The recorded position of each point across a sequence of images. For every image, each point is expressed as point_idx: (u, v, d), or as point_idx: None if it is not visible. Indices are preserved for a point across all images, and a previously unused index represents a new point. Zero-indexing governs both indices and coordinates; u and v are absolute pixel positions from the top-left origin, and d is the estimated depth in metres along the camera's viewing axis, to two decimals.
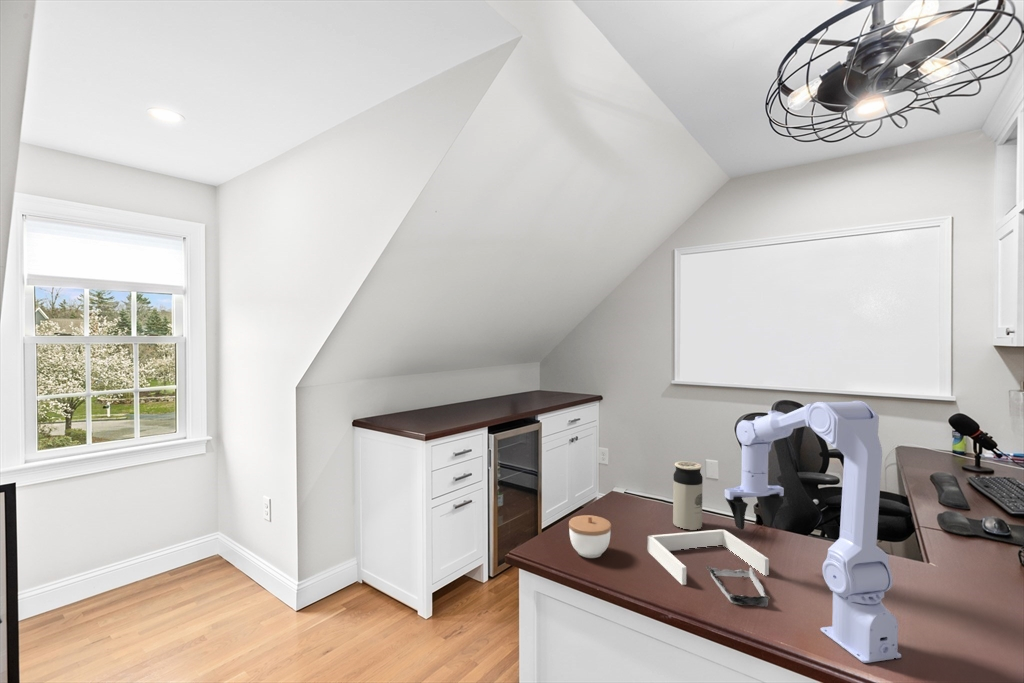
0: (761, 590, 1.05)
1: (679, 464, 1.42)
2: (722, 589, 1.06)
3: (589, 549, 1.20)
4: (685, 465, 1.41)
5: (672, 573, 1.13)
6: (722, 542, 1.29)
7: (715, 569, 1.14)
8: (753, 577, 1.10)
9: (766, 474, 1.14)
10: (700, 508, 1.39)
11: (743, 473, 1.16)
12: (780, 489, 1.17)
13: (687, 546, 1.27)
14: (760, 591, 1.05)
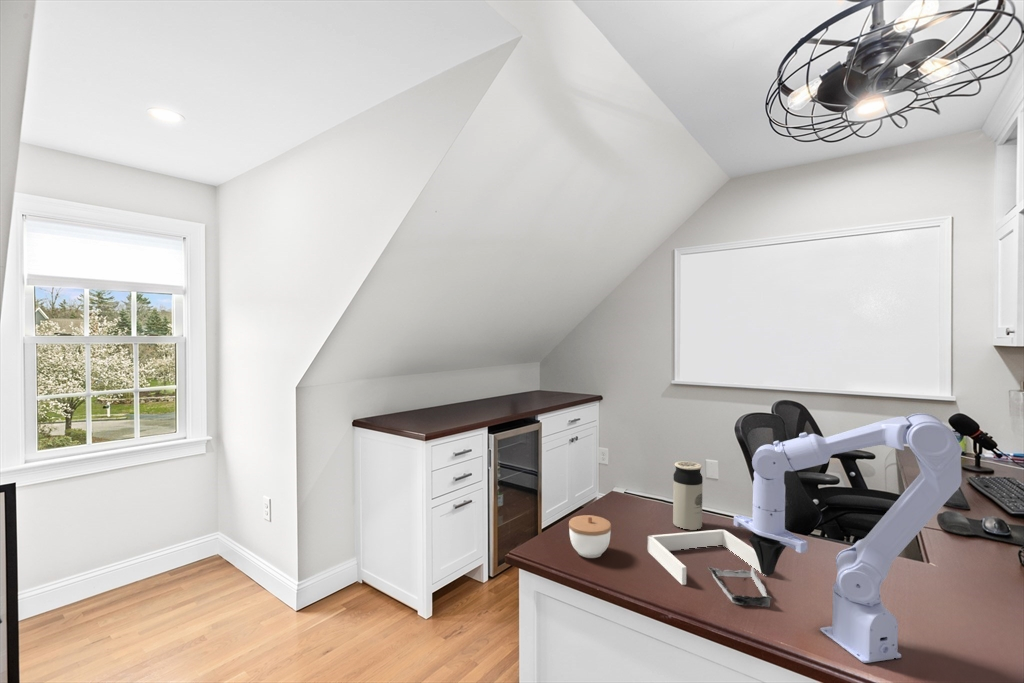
0: (763, 590, 1.05)
1: (679, 464, 1.42)
2: (724, 589, 1.06)
3: (589, 549, 1.20)
4: (685, 465, 1.41)
5: (672, 573, 1.13)
6: (722, 542, 1.29)
7: (717, 569, 1.14)
8: (755, 577, 1.10)
9: (765, 511, 0.95)
10: (700, 508, 1.39)
11: None
12: (795, 542, 0.91)
13: (687, 546, 1.27)
14: (762, 591, 1.05)
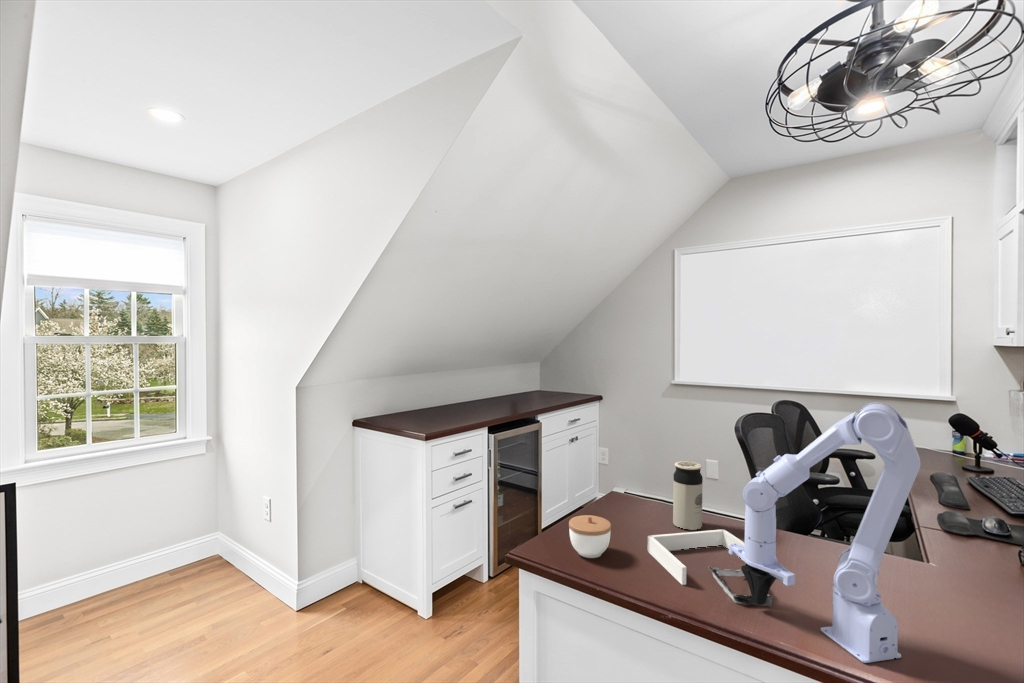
0: None
1: (679, 464, 1.42)
2: (725, 589, 1.06)
3: (589, 549, 1.20)
4: (685, 465, 1.41)
5: (672, 573, 1.13)
6: (722, 542, 1.29)
7: (717, 569, 1.14)
8: None
9: (755, 543, 0.97)
10: (700, 508, 1.39)
11: None
12: (782, 575, 0.93)
13: (687, 546, 1.27)
14: None
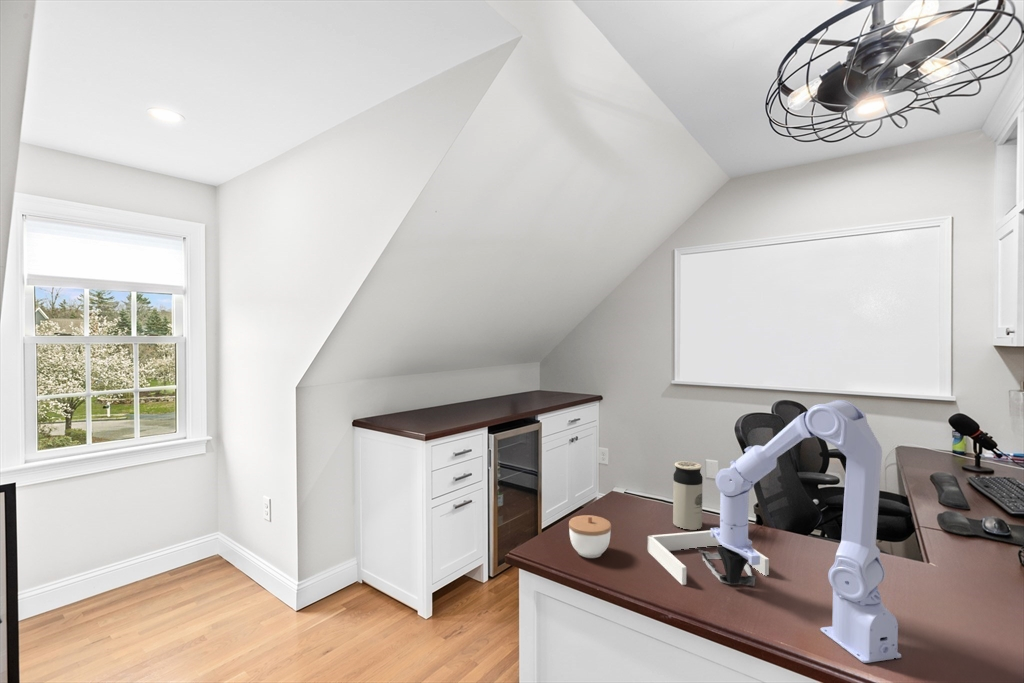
0: (749, 571, 1.13)
1: (679, 464, 1.42)
2: (713, 570, 1.14)
3: (589, 549, 1.20)
4: (685, 465, 1.41)
5: (672, 573, 1.13)
6: None
7: (706, 552, 1.22)
8: None
9: (727, 525, 1.06)
10: (700, 508, 1.39)
11: None
12: (748, 555, 1.01)
13: (687, 546, 1.27)
14: (748, 572, 1.13)
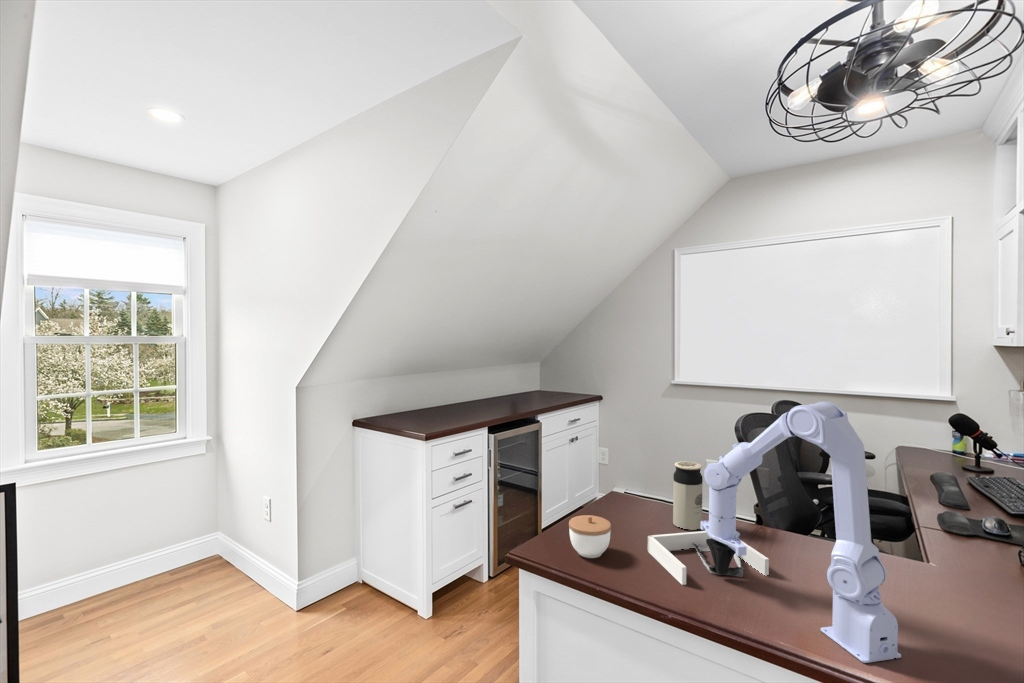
0: (739, 563, 1.17)
1: (679, 464, 1.42)
2: (704, 561, 1.19)
3: (589, 549, 1.20)
4: (685, 465, 1.41)
5: (672, 573, 1.13)
6: None
7: (700, 545, 1.26)
8: None
9: (715, 518, 1.10)
10: (700, 508, 1.39)
11: None
12: (735, 546, 1.06)
13: (687, 546, 1.27)
14: (738, 564, 1.17)
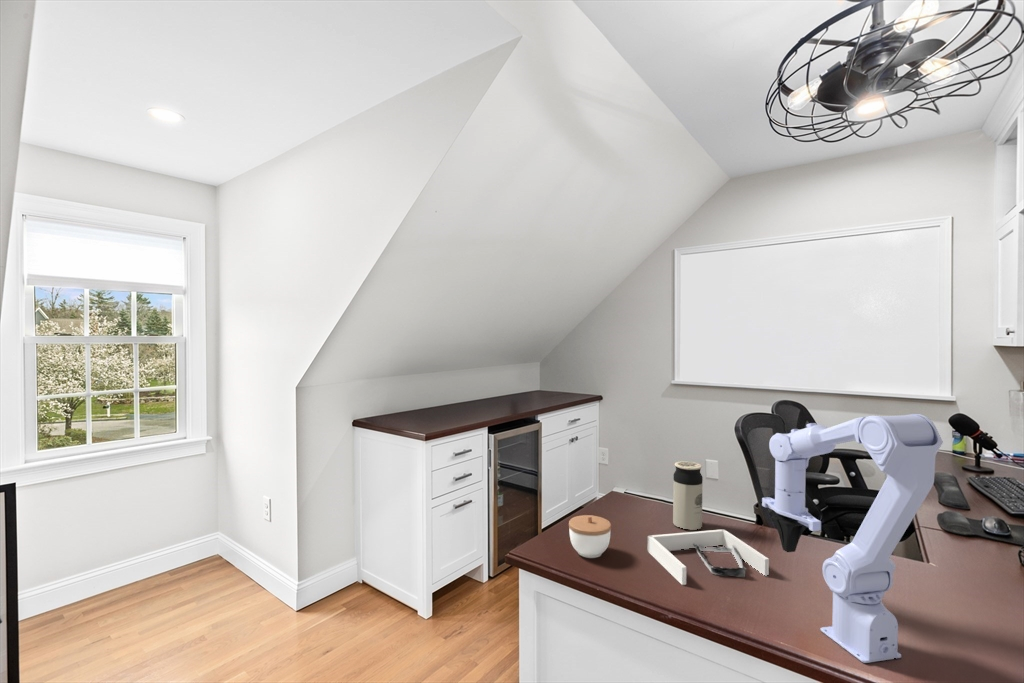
0: (740, 563, 1.17)
1: (679, 464, 1.42)
2: (705, 562, 1.18)
3: (589, 549, 1.20)
4: (685, 465, 1.41)
5: (672, 573, 1.13)
6: (722, 542, 1.29)
7: (701, 546, 1.26)
8: (735, 553, 1.22)
9: (784, 492, 1.04)
10: (700, 508, 1.39)
11: None
12: (808, 521, 0.99)
13: (687, 546, 1.27)
14: (739, 564, 1.17)
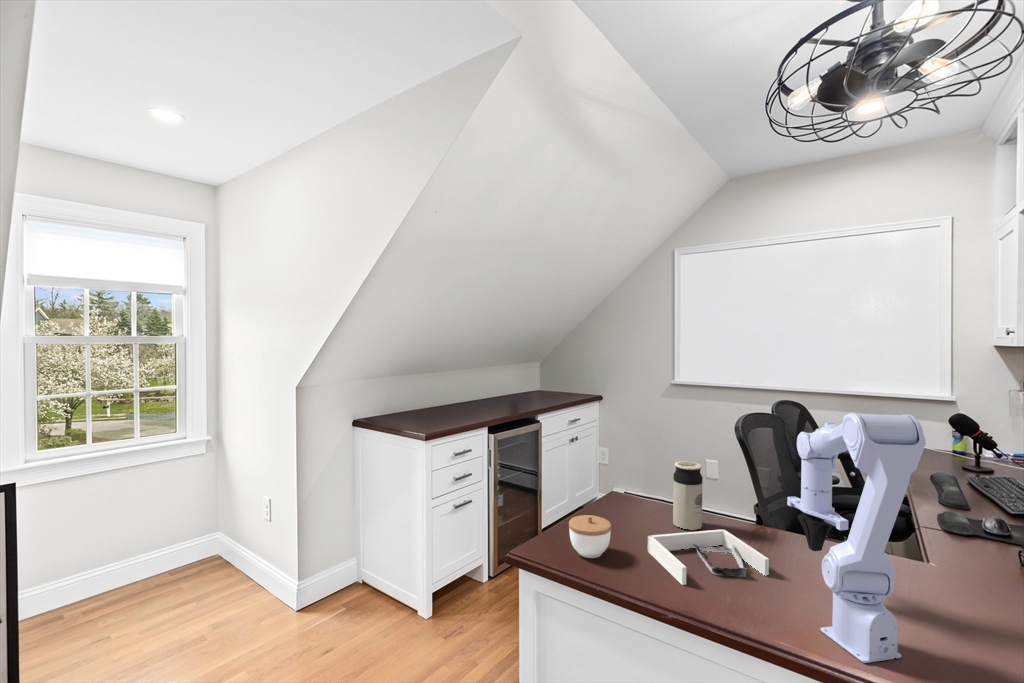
0: (741, 564, 1.17)
1: (679, 464, 1.42)
2: (706, 563, 1.18)
3: (589, 549, 1.20)
4: (685, 465, 1.41)
5: (672, 573, 1.13)
6: (722, 542, 1.29)
7: (701, 546, 1.26)
8: (735, 553, 1.22)
9: (810, 491, 1.04)
10: (700, 508, 1.39)
11: None
12: (835, 520, 1.00)
13: (687, 546, 1.27)
14: (740, 565, 1.17)
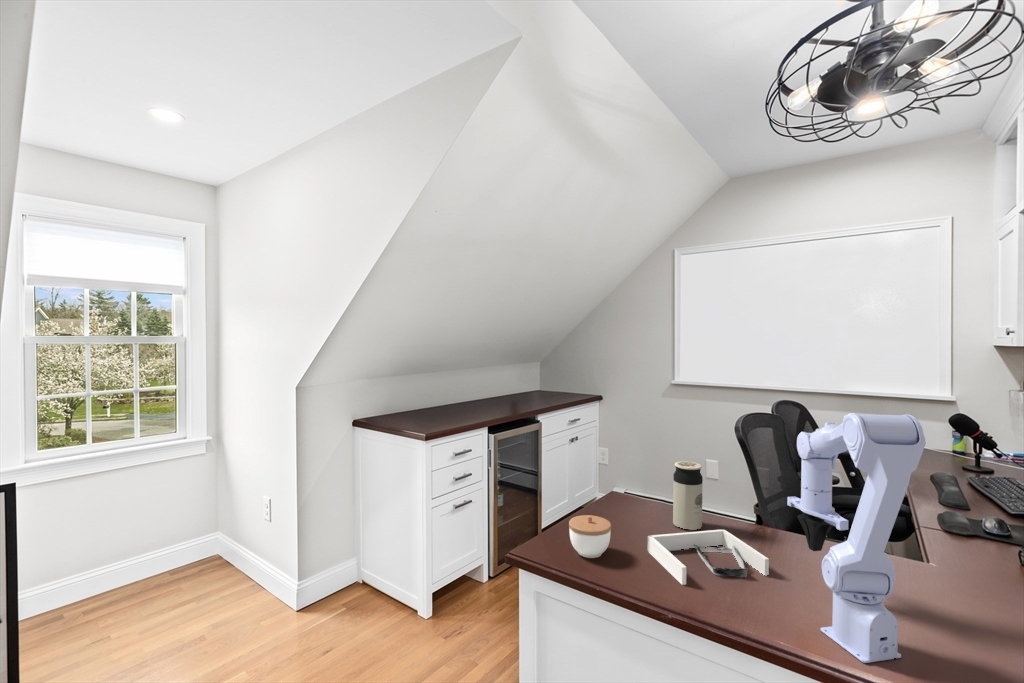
0: (741, 564, 1.17)
1: (679, 464, 1.42)
2: (706, 563, 1.18)
3: (589, 549, 1.20)
4: (685, 465, 1.41)
5: (672, 573, 1.13)
6: (722, 542, 1.29)
7: (701, 547, 1.26)
8: (735, 553, 1.22)
9: (810, 491, 1.04)
10: (700, 508, 1.39)
11: None
12: (835, 520, 1.00)
13: (687, 546, 1.27)
14: (741, 565, 1.17)
